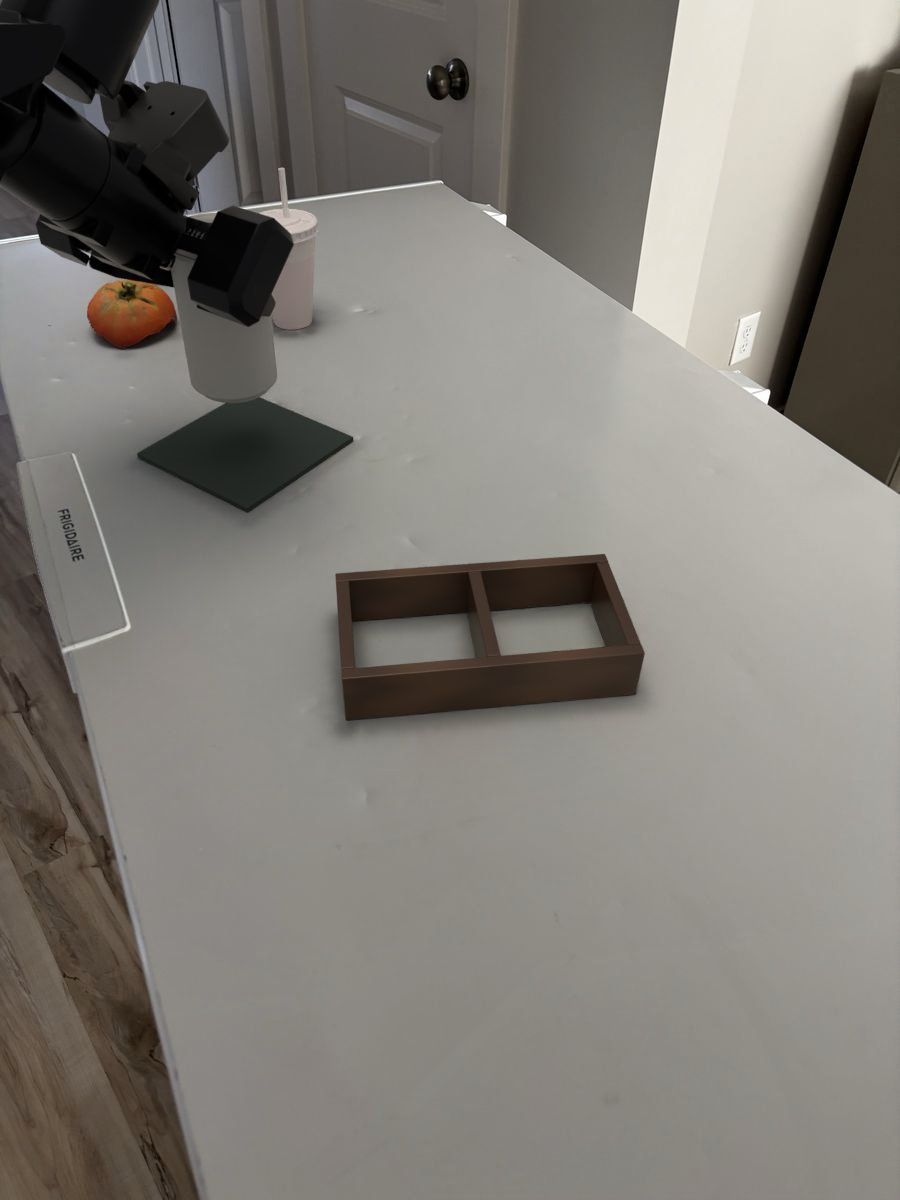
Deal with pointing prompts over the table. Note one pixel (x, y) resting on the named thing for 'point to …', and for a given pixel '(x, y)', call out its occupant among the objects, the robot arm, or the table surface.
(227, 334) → the beverage can
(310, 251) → the smoothie
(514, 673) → the stand
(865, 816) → the table surface
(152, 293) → the tomato
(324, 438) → the mat
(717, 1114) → the table surface
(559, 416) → the table surface
